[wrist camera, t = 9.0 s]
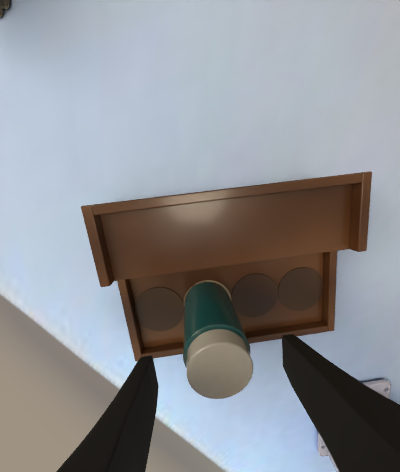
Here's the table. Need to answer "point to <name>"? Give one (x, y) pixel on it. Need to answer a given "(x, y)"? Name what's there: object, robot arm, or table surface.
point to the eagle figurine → (3, 6)
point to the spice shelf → (231, 255)
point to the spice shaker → (214, 343)
